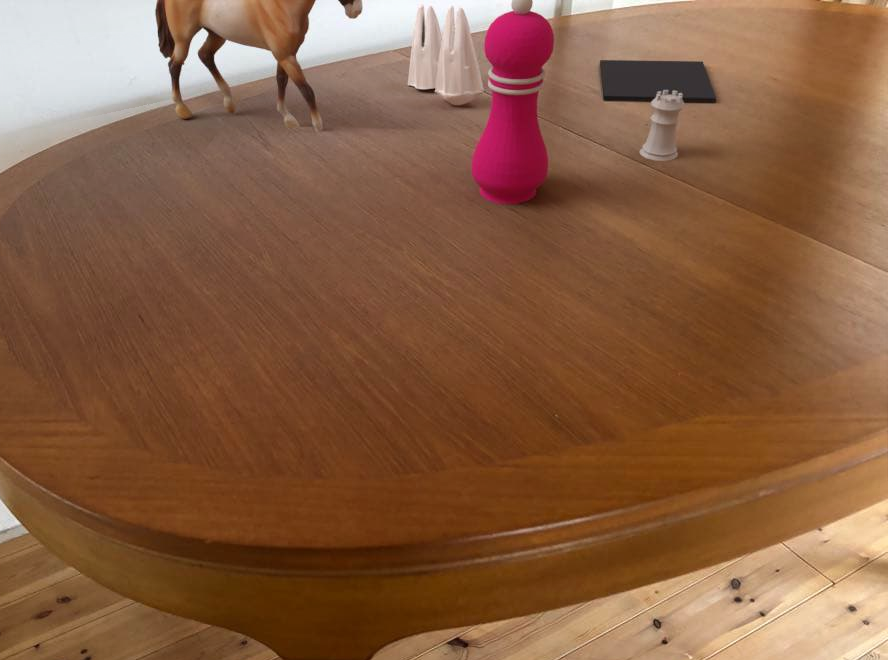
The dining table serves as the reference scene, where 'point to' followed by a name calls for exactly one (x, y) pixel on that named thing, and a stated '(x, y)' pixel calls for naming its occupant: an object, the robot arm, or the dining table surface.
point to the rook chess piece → (663, 127)
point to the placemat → (655, 80)
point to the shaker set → (445, 57)
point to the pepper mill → (514, 107)
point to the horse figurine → (241, 41)
